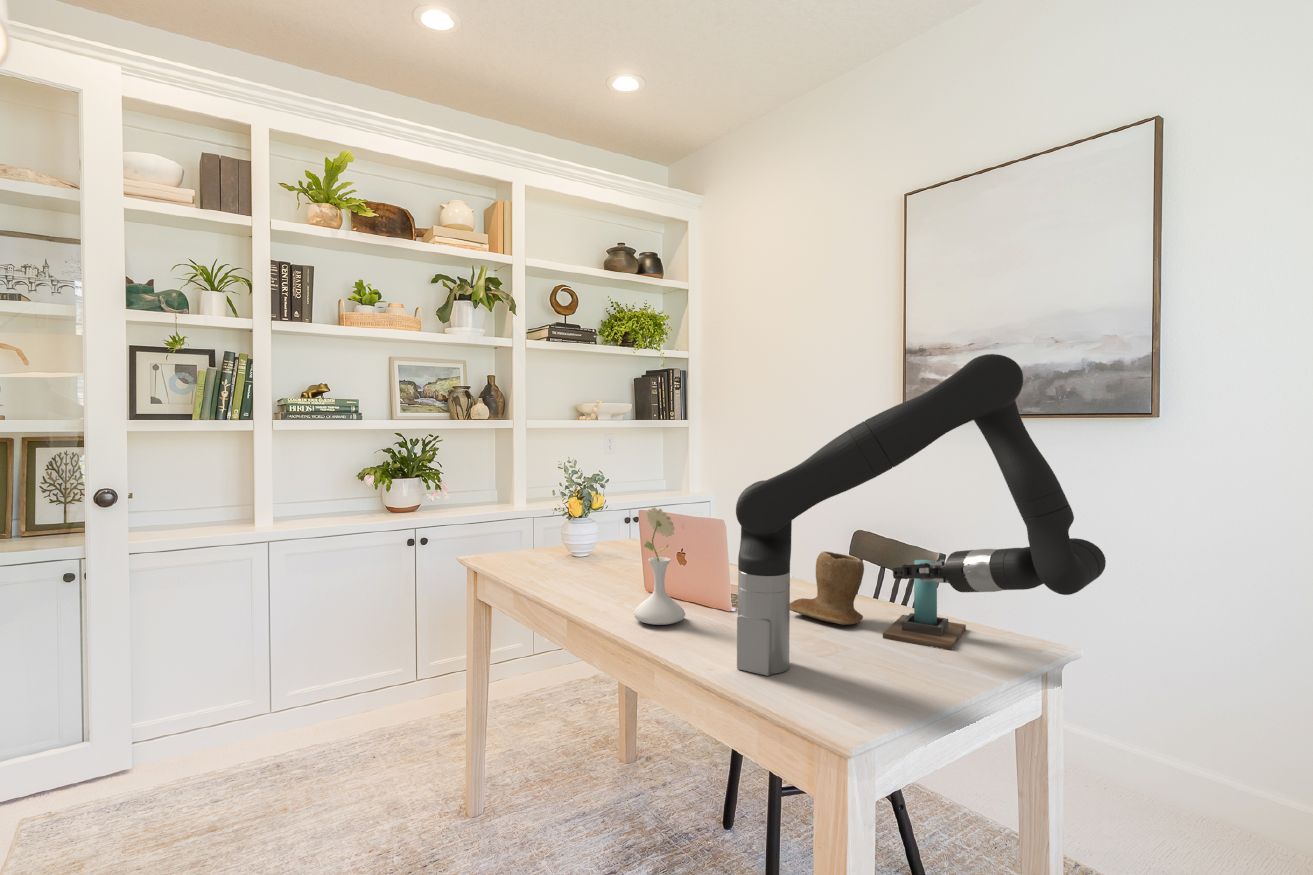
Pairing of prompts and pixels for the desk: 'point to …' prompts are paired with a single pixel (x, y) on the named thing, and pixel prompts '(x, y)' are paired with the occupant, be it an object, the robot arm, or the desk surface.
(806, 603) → the brown hollow flared cylinder
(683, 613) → the flower in vase
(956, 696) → the desk surface
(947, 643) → the walnut base board
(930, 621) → the teal pillar
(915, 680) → the desk surface
